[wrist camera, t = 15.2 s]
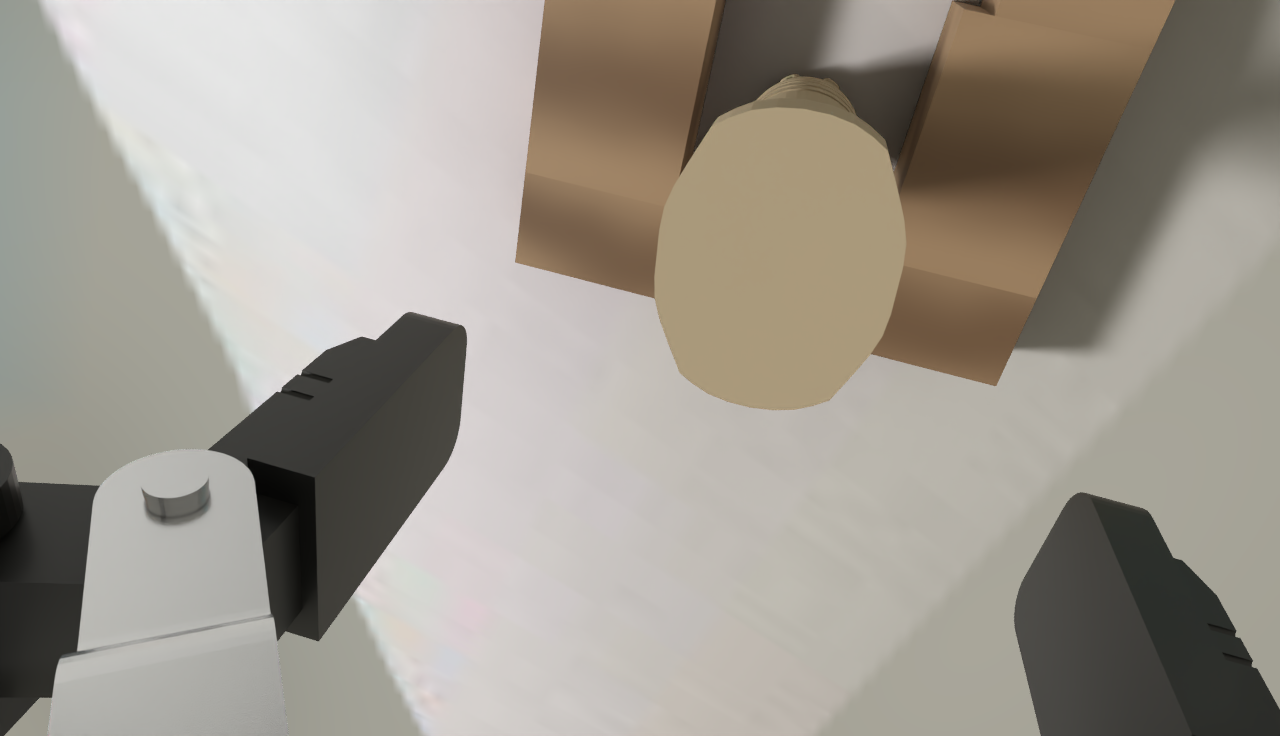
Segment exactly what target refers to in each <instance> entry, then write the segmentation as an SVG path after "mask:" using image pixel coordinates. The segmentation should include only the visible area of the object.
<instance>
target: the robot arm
mask: <svg viewBox="0 0 1280 736" xmlns="http://www.w3.org/2000/svg"><path fill="white" fill-rule="evenodd" d="M466 347H467V335H466V330H465V328H464V327H463V326H462V325H458V324H454V323H451V322H447V321H443V320H439V319H436V318H432V317H428V316H424V315H420V314H417V313H413V312H408V313H406V314H404V315H403V316H402V317H401V318H400V319H399V320H398V321H396V322H395V323H394V324H393V325H392V326H391V327H390V328H389V329H388V330H387V331H386V332H384V333H383V334H382V335H381V336H380V337H379V338H378V339H377V340H372V339H369V338H365V337H359V338H357V339H354V340H351V341H349V342H346V343H344V344H341V345H338V346H336V347H333V348H331V349H328V350H326V351H325V352H323V353H322V354H321V355H320V356H319V357H318V358H316V359H315V360H314V361H313V362H312V363H310V364H309V365H308V366H307V367H306V368H305V369H303V370H302V374H301V375H296V376H295V377H294V378H293V379H291V380H290V381H289V382H288V383H287V384H286V385H284V386H283V387H282V391H281V392H276V393H275V394H274V395H272V396H271V397H270V398H269V399H268V400H267V401H265V402H264V403H263V404H262V405H261V406H259V407H258V408H257V409H256V410H255V411H254V412H252V413H251V414H250V415H249V416H248V417H246V418H245V419H244V420H243V421H242V422H241V423H239V424H238V425H237V426H236V427H235V428H233V429H232V430H231V431H230V432H229V433H228V434H226V435H225V436H224V437H223V438H221V439H220V440H219V441H218V442H217V443H216V444H214V445H213V446H212V447H211V448H210V449H208V450H201V449H185V450H184V449H183V450H173V451H167V452H161V453H157V454H153V455H150V456H146V457H144V458H141V459H138V460H136V461H133V462H131V463H129V464H127V465H125V466H124V467H122V468H120V469H119V470H117V471H115V472H114V473H113V474H112V475H111V476H109V477H108V478H107V479H106V480H105V481H104V482H103V483H102V484H101V486H91V485H69V484H48V483H27V482H18V480H17V475H16V471H15V467H14V463H13V459H12V456H11V454H10V453H9V451H8V450H7V449H6V448H5V447H4V446H3V445H2V444H0V736H4V735H5V734H6V733H7V732H8V731H9V730H10V729H11V728H12V727H13V725H14V724H15V723H16V722H17V721H18V720H19V719H20V718H21V717H22V716H23V715H24V714H25V713H26V712H27V710H28V709H29V708H30V707H31V706H32V705H33V704H34V703H35V702H36V701H37V700H38V699H39V698H40V697H42V698H43V697H44V698H48V697H49V698H52V705H51V712H50V719H49V727H48V735H47V736H289V734H288V726H287V718H286V710H285V701H284V694H283V685H282V677H281V669H280V661H279V653H278V646H277V641H278V640H279V639H280V637H281V636H282V635H283V633H284V632H285V631H287V632H290V633H293V634H297V635H300V636H303V637H306V638H309V639H313V640H316V641H319V640H320V639H321V638H322V636H323V635H324V633H325V632H326V631H327V629H328V628H329V627H330V625H331V624H332V622H333V621H334V620H335V618H336V617H337V615H338V614H339V613H340V611H341V610H342V608H343V607H344V606H345V604H346V603H347V602H348V600H349V599H350V597H351V596H352V595H353V593H354V592H355V590H356V589H357V588H358V586H359V585H360V584H361V582H362V581H363V579H364V578H365V577H366V575H367V574H368V572H369V571H370V570H371V568H372V567H373V565H374V564H375V563H376V561H377V560H378V559H379V557H380V556H381V554H382V553H383V552H384V550H385V549H386V547H387V546H388V545H389V543H390V542H391V540H392V539H393V538H394V536H395V535H396V534H397V532H398V531H399V529H400V528H401V527H402V525H403V524H404V522H405V521H406V520H407V518H408V517H409V515H410V514H411V513H412V511H413V510H414V509H415V507H416V506H417V504H418V503H419V502H420V500H421V499H422V497H423V496H424V495H425V493H426V492H427V491H428V489H429V488H430V486H431V485H432V484H433V482H434V481H435V479H436V478H437V477H438V475H439V474H440V472H441V471H442V470H443V468H444V467H445V465H446V464H447V462H448V460H449V458H450V456H451V454H452V451H453V449H454V446H455V443H456V439H457V436H458V431H459V426H460V418H461V406H462V394H463V382H464V371H465V359H466ZM1014 615H1015V616H1014V622H1015V631H1016V635H1017V639H1018V644H1019V648H1020V652H1021V655H1022V660H1023V664H1024V668H1025V672H1026V676H1027V681H1028V685H1029V688H1030V693H1031V697H1032V701H1033V705H1034V709H1035V713H1036V717H1037V721H1038V725H1039V730H1040V734H1041V736H1280V709H1279V707H1278V706H1277V704H1276V702H1275V700H1274V699H1273V696H1272V695H1271V693H1270V691H1269V689H1268V688H1267V686H1266V684H1265V682H1264V680H1263V678H1262V677H1261V675H1260V673H1259V671H1258V669H1256V668H1253V667H1252V662H1253V660H1252V658H1251V657H1250V655H1249V653H1248V651H1247V649H1246V648H1245V646H1244V644H1243V642H1242V640H1241V639H1240V638H1237V637H1235V633H1236V630H1235V628H1234V626H1233V624H1232V622H1231V621H1230V619H1229V617H1228V615H1227V613H1226V611H1225V610H1224V608H1223V606H1222V604H1221V602H1220V600H1219V599H1218V597H1217V595H1216V594H1215V593H1214V592H1213V591H1212V590H1211V589H1210V588H1209V587H1208V586H1207V585H1206V584H1205V583H1204V582H1203V581H1202V580H1201V579H1200V578H1199V577H1198V576H1197V575H1196V574H1195V573H1194V572H1193V571H1192V570H1191V569H1190V568H1189V567H1188V566H1187V565H1186V564H1185V563H1184V562H1183V561H1182V560H1178V559H1175V558H1173V557H1172V555H1171V553H1170V551H1169V549H1168V547H1167V545H1166V543H1165V541H1164V539H1163V537H1162V535H1161V533H1160V531H1159V529H1158V527H1157V525H1156V524H1155V522H1154V520H1153V518H1152V516H1151V515H1150V513H1149V512H1148V511H1147V510H1145V509H1143V508H1140V507H1135V506H1132V505H1128V504H1125V503H1121V502H1117V501H1113V500H1109V499H1106V498H1102V497H1098V496H1094V495H1090V494H1087V493H1077V494H1075V495H1074V496H1073V497H1072V498H1070V500H1069V501H1068V502H1067V503H1066V505H1065V507H1064V508H1063V510H1062V512H1061V514H1060V515H1059V517H1058V519H1057V521H1056V522H1055V524H1054V526H1053V528H1052V529H1051V531H1050V533H1049V535H1048V537H1047V539H1046V540H1045V542H1044V544H1043V545H1042V547H1041V549H1040V551H1039V553H1038V554H1037V556H1036V558H1035V560H1034V561H1033V563H1032V565H1031V567H1030V568H1029V570H1028V572H1027V574H1026V576H1025V577H1024V579H1023V581H1022V583H1021V586H1020V589H1019V592H1018V595H1017V599H1016V605H1015V613H1014Z"/></svg>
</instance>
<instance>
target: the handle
mask: <svg viewBox="0 0 1280 736" xmlns="http://www.w3.org/2000/svg"><path fill="white" fill-rule="evenodd" d="M905 250H906V232H905V222H904V216H903V211H902V207H901V202H900V197H899V193H898V188H897V184H896V180H895V176H894V172H893V168H892V164H891V160H890V156H889V152H888V148H887V144H886V141H885V139H884V138H883V137H882V136H881V135H880V134H879V133H878V132H876V131H875V130H874V129H873V128H872V127H871V126H870V125H869V124H867V123H866V122H864V121H863V120H862V119H860V118H859V117H857V115H856V112H855V110H854V108H853V106H852V105H851V103H850V101H849V100H848V99H847V97H846V96H845V95H844V94H843V93H842V92H841V91H840V88H839V86H838V84H836V83H835V82H834V81H833V80H831V79H829V78H824V79H819V78H814V77H804V76H802V77H800V76H799V75H798V74H792V75H788V76H786V77H784V78H783V79H782V80H781V81H780V82H779V83H777V84H775V85H774V86H772V87H771V88H769V89H768V90H766V91H765V92H764V93H763V94H762V95H761V96H760V97H759V98H758V99H757V100H756V101H754V102H751V103H748V104H745V105H742V106H740V107H737V108H735V109H733V110H731V111H729V112H727V113H725V114H723V115H721V116H719V117H718V118H717V119H716V120H715V122H714V123H713V125H712V126H711V128H710V129H709V131H708V132H707V134H706V135H705V137H704V138H703V140H702V142H701V143H700V145H699V146H698V148H697V149H696V151H695V152H694V154H693V156H692V157H691V159H690V160H689V162H688V163H687V165H686V167H685V168H684V170H683V172H682V173H681V175H680V176H679V178H678V180H677V181H676V183H675V185H674V187H673V189H672V191H671V193H670V195H669V197H668V200H667V202H666V204H665V206H664V210H663V215H662V219H661V224H660V229H659V237H658V247H657V256H656V266H655V275H654V282H655V302H656V306H657V310H658V315H659V319H660V322H661V324H662V327H663V330H664V333H665V336H666V338H667V341H668V344H669V346H670V349H671V351H672V354H673V357H674V359H675V362H676V364H677V367H678V369H679V372H680V373H681V374H682V375H683V376H684V377H685V378H687V379H688V380H689V381H690V382H691V383H693V384H694V385H696V386H697V387H699V388H700V389H702V390H703V391H705V392H706V393H708V394H710V395H713V396H715V397H717V398H720V399H722V400H725V401H727V402H731V403H735V404H739V405H743V406H747V407H751V408H759V409H768V410H795V409H800V408H805V407H810V406H814V405H817V404H820V403H823V402H826V401H829V400H830V399H831V398H832V397H833V396H834V395H835V394H836V393H837V391H838V390H839V389H840V388H841V387H842V386H843V385H844V384H845V383H846V382H847V381H848V379H849V378H850V377H851V376H852V375H853V374H854V373H855V372H856V370H857V369H858V368H859V367H860V366H861V365H862V364H863V362H864V361H865V360H866V359H867V358H868V357H869V355H870V354H871V353H872V351H873V350H874V348H875V347H876V345H877V344H878V342H879V341H880V339H881V338H882V336H883V334H884V331H885V329H886V326H887V323H888V321H889V318H890V316H891V312H892V308H893V304H894V301H895V297H896V293H897V289H898V285H899V281H900V278H901V274H902V270H903V264H904V257H905Z"/></svg>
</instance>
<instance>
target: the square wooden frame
mask: <svg viewBox="0 0 1280 736" xmlns="http://www.w3.org/2000/svg"><path fill="white" fill-rule="evenodd" d="M725 2H726V0H545V4H544V13H543V22H542V31H541V39H540V48H539V57H538V66H537V75H536V84H535V92H534V101H533V110H532V119H531V128H530V137H529V145H528V154H527V163H526V172H525V181H524V190H523V198H522V207H521V216H520V225H519V234H518V243H517V251H516V260H515V262H516V263H520V264H524V265H528V266H531V267H535V268H539V269H543V270H547V271H551V272H555V273H559V274H562V275H566V276H570V277H574V278H578V279H582V280H586V281H590V282H594V283H597V284H601V285H605V286H609V287H613V288H617V289H621V290H625V291H628V292H632V293H636V294H640V295H644V296H648V297H652V298H655V282H654V275H655V266H656V256H657V247H658V237H659V229H660V224H661V219H662V215H663V210H664V206H665V204H666V202H667V200H668V197H669V195H670V193H671V191H672V189H673V187H674V185H675V183H676V181H677V180H678V178H679V176H680V175H681V173H682V172H683V170H684V168H685V167H686V165H687V163H688V162H689V160H690V159H691V157H692V156H693V152H694V147H695V142H696V138H697V133H698V128H699V124H700V119H701V114H702V110H703V105H704V100H705V96H706V91H707V86H708V82H709V77H710V72H711V68H712V63H713V58H714V54H715V49H716V44H717V40H718V35H719V30H720V26H721V21H722V16H723V12H724V7H725ZM1174 2H1175V0H982V3H981V6H975V5H970V4H966V3H961V2H957V1H952V3H951V6H950V9H949V12H948V15H947V18H946V21H945V24H944V27H943V30H942V33H941V35H940V38H939V41H938V44H937V47H936V50H935V53H934V56H933V59H932V62H931V65H930V68H929V71H928V74H927V77H926V80H925V82H924V85H923V88H922V91H921V94H920V97H919V100H918V103H917V106H916V109H915V112H914V115H913V118H912V121H911V124H910V126H909V129H908V132H907V135H906V138H905V141H904V144H903V147H902V150H901V153H900V156H899V159H898V162H897V165H896V168H895V171H894V176H895V180H896V184H897V188H898V193H899V197H900V202H901V207H902V211H903V216H904V222H905V232H906V250H905V257H904V264H903V270H902V274H901V278H900V281H899V285H898V289H897V293H896V297H895V301H894V304H893V308H892V312H891V316H890V318H889V321H888V323H887V326H886V329H885V331H884V334H883V336H882V338H881V339H880V341H879V342H878V344H877V345H876V347H875V348H874V350H873V351H872V353H871V354H873V355H877V356H881V357H885V358H888V359H892V360H896V361H900V362H904V363H908V364H912V365H916V366H919V367H923V368H927V369H931V370H935V371H939V372H943V373H947V374H951V375H954V376H958V377H962V378H966V379H970V380H974V381H978V382H982V383H985V384H989V385H993V386H996V385H997V383H998V381H999V379H1000V376H1001V374H1002V372H1003V370H1004V368H1005V366H1006V364H1007V361H1008V359H1009V357H1010V355H1011V353H1012V351H1013V348H1014V346H1015V344H1016V342H1017V340H1018V338H1019V336H1020V333H1021V331H1022V329H1023V327H1024V325H1025V323H1026V321H1027V318H1028V316H1029V314H1030V312H1031V310H1032V308H1033V305H1034V303H1035V301H1036V299H1037V297H1038V295H1039V293H1040V290H1041V288H1042V286H1043V284H1044V282H1045V280H1046V278H1047V275H1048V273H1049V271H1050V269H1051V267H1052V265H1053V262H1054V260H1055V258H1056V256H1057V254H1058V252H1059V250H1060V247H1061V245H1062V243H1063V241H1064V239H1065V237H1066V235H1067V232H1068V230H1069V228H1070V226H1071V224H1072V222H1073V219H1074V217H1075V215H1076V213H1077V211H1078V209H1079V207H1080V204H1081V202H1082V200H1083V198H1084V196H1085V194H1086V191H1087V189H1088V187H1089V185H1090V183H1091V181H1092V179H1093V176H1094V174H1095V172H1096V170H1097V168H1098V166H1099V164H1100V161H1101V159H1102V157H1103V155H1104V153H1105V151H1106V148H1107V146H1108V144H1109V142H1110V140H1111V138H1112V136H1113V133H1114V131H1115V129H1116V127H1117V125H1118V123H1119V121H1120V118H1121V116H1122V114H1123V112H1124V110H1125V108H1126V105H1127V103H1128V101H1129V99H1130V97H1131V95H1132V93H1133V90H1134V88H1135V86H1136V84H1137V82H1138V80H1139V78H1140V75H1141V73H1142V71H1143V69H1144V67H1145V65H1146V62H1147V60H1148V58H1149V56H1150V54H1151V52H1152V50H1153V47H1154V45H1155V43H1156V41H1157V39H1158V37H1159V35H1160V32H1161V30H1162V28H1163V26H1164V24H1165V22H1166V19H1167V17H1168V15H1169V13H1170V11H1171V9H1172V7H1173V4H1174Z"/></svg>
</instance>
